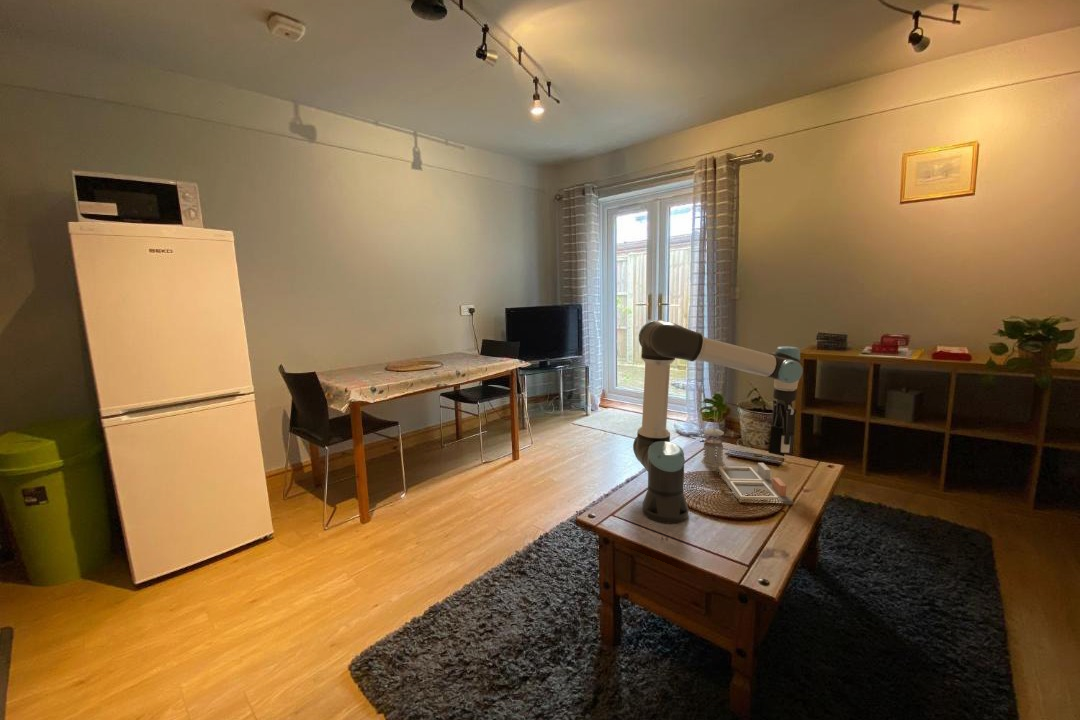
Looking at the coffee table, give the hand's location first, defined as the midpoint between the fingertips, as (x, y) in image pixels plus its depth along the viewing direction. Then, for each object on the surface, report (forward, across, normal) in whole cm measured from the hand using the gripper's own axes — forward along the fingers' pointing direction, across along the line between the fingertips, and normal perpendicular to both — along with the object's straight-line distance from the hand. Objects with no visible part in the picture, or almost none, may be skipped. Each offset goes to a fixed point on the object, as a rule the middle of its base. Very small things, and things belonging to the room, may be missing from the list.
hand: (780, 448), depth 163 cm
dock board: (+15, 0, +10) cm, 18 cm away
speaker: (+2, 0, 0) cm, 2 cm away
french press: (+16, +22, +18) cm, 32 cm away
